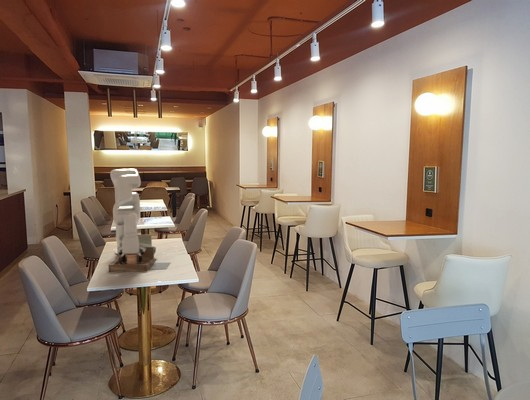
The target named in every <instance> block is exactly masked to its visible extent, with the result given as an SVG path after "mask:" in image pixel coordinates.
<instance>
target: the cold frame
mask: <svg viewBox="0 0 530 400" xmlns="http://www.w3.org/2000/svg"><path fill="white" fill-rule="evenodd" d="M137 236H138V237H139V241H140V246H142V247H144V248H146V250H145V252H144V254H143V255H142V261H141V262H140V263H139V255H138V256H137V264H127V257H126V254H125V258H126V262H125V263H123V261H122V256H121V255H120V254H119V253H118V254H117V255H118V258H117V259H116V260H115V261H114V262H113V263H111V264H108V266H107V267H108V273H112V272H115V273H116V272H118V273H119V272H147V271H148V270H149V269H150V268H151V267H152V265H153V264H154V263H155V254H154V247H155V246H153V245H152V244H153V243H152V242H153V241H152V239H153V238H152V234H137ZM123 237H124V236H123V235H119V243H120V247H119V248H121V247H122V241H123ZM152 246H153V247H152ZM119 248H118V249H119ZM120 251H121V252H122V249H121V250H120ZM140 252H141V253H142V252H143V250H142V249H141V250H140Z"/></svg>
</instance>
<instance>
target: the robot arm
mask: <svg viewBox="0 0 530 400" xmlns="http://www.w3.org/2000/svg"><path fill="white" fill-rule="evenodd" d="M109 174H110V179H111V181H112V185H113V187H114V199H115V203H114V205H113V208H112V217H113V223H114V225H115V235H116V236H115V237H116V250H115V251H114V254H115V255H118V253H119V254H120V255H121V256H122V261H123V263H122V264H126V263H125V262H126V258H125V254H138V255H139V263H138V264H141V263H140V262H141V261H142V255H143V254H144V252H145V250H146V248H144V247H142V246H140V241H139V237H138V236H137V235H138V225H137V224H138V221H139V220H140V219H141V203H140V202H141V200H140V194H139V193H138V192H137V191H133V189H134V188H139V187H141V184H142V181H141V177H140V174H139V172H138V170H137V168H119V169H118V168H117V169H112V170H111V171H110V173H109ZM132 188H133V189H132ZM119 235H123V236H124V237H123V241H122V247H121V248H119V247H120V243H119ZM118 248H119V249H118ZM121 249H122V252H121V251H120V250H121ZM141 249H142V250H143V252H142V253H141V252H140V250H141Z"/></svg>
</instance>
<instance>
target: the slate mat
mask: <svg viewBox="0 0 530 400" xmlns="http://www.w3.org/2000/svg"><path fill="white" fill-rule="evenodd" d="M170 264H172V262H154V263H153V264H152V265H151V266H150V267H149V269H148V270H150V271H152V270H167V268H168V267H169V266H170Z"/></svg>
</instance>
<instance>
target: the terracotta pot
mask: <svg viewBox="0 0 530 400" xmlns="http://www.w3.org/2000/svg"><path fill="white" fill-rule="evenodd" d="M137 256H138V254H126V257H127V263H126V264H138V263H137Z"/></svg>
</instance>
